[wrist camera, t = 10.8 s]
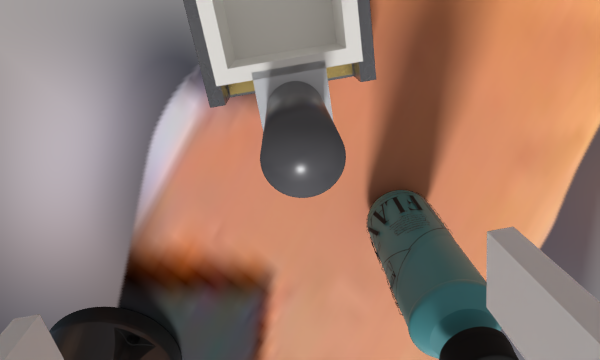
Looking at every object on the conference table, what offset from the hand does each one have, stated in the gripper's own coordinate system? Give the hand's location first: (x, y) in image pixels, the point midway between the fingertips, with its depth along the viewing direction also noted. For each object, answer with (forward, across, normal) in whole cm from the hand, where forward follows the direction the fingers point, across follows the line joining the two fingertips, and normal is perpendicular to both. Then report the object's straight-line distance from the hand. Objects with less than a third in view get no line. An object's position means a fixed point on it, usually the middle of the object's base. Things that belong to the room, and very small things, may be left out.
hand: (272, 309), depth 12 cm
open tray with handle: (+24, +2, +7) cm, 25 cm away
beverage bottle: (+26, +10, -12) cm, 30 cm away
